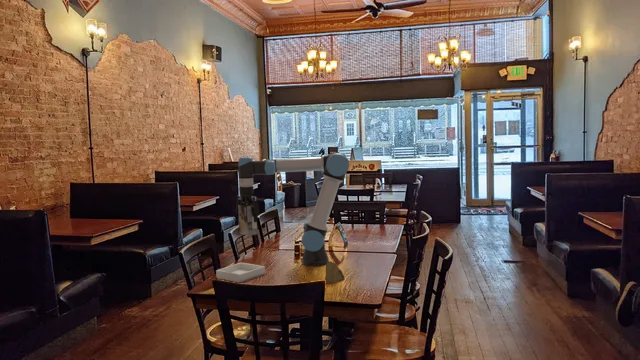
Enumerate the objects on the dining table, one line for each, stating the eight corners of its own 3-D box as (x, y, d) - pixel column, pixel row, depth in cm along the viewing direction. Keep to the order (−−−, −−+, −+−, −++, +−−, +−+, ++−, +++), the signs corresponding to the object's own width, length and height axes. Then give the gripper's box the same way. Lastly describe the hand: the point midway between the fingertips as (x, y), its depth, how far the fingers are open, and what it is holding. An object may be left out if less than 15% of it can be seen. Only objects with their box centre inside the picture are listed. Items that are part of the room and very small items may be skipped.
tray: (265, 273, 252) (264, 266, 252) (240, 282, 238) (240, 275, 237) (241, 269, 263) (241, 262, 262) (216, 277, 248) (216, 270, 248)
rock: (344, 272, 240) (324, 270, 240) (346, 261, 235) (326, 259, 235) (344, 290, 232) (323, 288, 232) (345, 279, 226) (325, 277, 226)
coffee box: (258, 234, 256) (257, 204, 254) (248, 236, 251) (247, 205, 250) (248, 232, 263) (247, 203, 261) (238, 233, 258) (237, 204, 257)
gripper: (227, 185, 259) (229, 226, 261) (255, 187, 245) (257, 230, 247) (237, 184, 265) (239, 224, 266) (266, 186, 251) (267, 228, 253)
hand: (248, 227), depth 257 cm, fingers closed on coffee box, 9 cm apart
